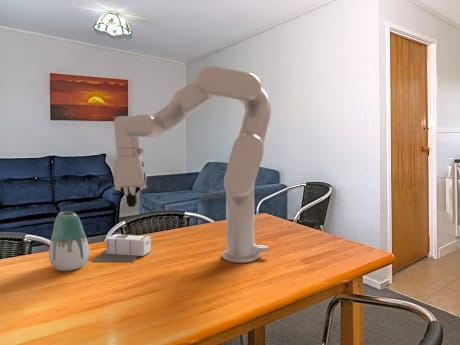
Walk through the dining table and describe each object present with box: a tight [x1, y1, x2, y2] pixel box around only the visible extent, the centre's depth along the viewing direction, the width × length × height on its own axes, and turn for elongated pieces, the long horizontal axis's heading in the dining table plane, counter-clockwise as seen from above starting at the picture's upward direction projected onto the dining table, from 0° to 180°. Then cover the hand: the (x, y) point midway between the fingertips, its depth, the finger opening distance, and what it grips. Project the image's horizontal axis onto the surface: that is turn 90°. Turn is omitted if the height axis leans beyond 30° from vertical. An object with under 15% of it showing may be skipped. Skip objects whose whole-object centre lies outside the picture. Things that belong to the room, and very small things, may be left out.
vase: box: [48, 211, 90, 272], centre depth 107 cm, size 12×12×18 cm
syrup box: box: [105, 233, 152, 257], centre depth 120 cm, size 6×6×14 cm
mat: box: [91, 249, 139, 263], centre depth 118 cm, size 14×11×1 cm
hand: (132, 206), depth 116 cm, fingers closed
